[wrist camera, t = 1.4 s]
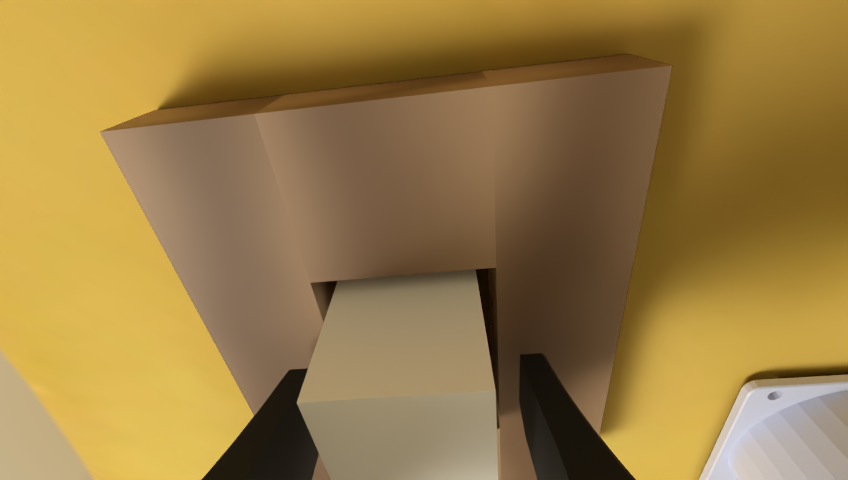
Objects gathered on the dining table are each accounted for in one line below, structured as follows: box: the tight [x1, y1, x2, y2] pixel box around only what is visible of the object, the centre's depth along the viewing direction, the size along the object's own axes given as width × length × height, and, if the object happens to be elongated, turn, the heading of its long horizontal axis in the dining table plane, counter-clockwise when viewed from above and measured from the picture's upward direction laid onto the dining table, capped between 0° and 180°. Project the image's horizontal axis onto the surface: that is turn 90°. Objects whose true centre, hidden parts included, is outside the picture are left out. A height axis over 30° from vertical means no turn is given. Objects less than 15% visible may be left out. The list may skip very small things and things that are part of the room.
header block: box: [100, 54, 672, 480], centre depth 13 cm, size 12×16×2 cm
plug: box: [297, 269, 498, 480], centre depth 12 cm, size 4×6×6 cm, turn 7°
